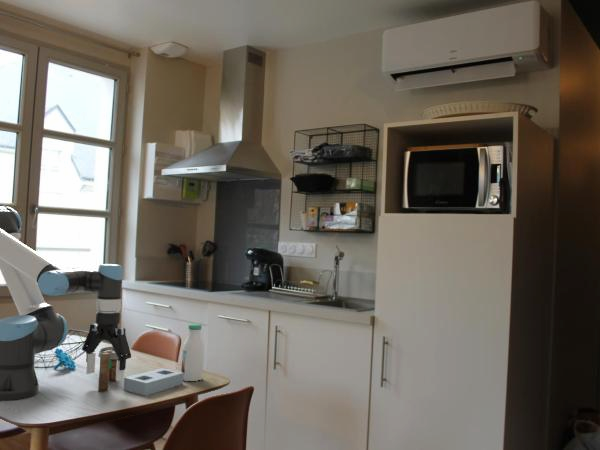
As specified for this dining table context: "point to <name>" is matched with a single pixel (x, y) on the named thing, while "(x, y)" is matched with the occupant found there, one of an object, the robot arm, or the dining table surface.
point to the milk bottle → (193, 354)
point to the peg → (104, 372)
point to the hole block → (153, 381)
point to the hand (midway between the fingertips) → (104, 376)
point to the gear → (64, 360)
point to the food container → (111, 361)
